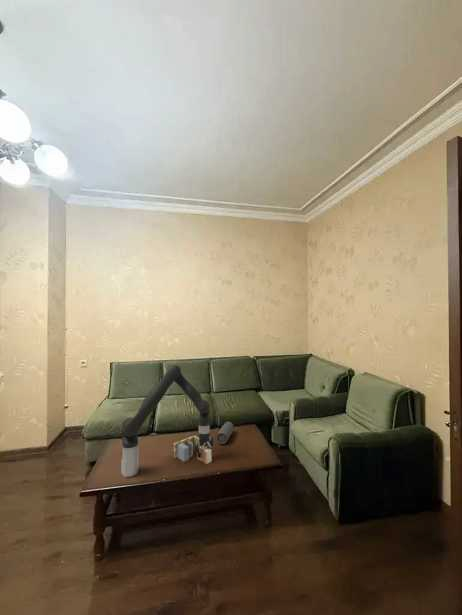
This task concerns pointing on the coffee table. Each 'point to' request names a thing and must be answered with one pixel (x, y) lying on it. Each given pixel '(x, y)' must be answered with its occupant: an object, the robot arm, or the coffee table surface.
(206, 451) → the boxed book
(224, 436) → the bluetooth speaker
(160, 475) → the coffee table surface
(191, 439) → the shelf
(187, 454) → the shelved book
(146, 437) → the coffee table surface
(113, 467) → the coffee table surface
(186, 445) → the bookend
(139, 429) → the robot arm
